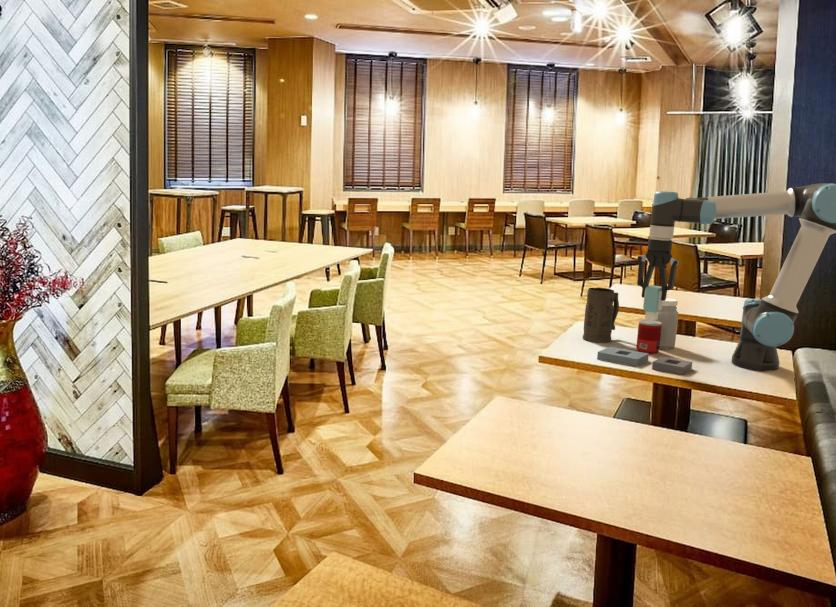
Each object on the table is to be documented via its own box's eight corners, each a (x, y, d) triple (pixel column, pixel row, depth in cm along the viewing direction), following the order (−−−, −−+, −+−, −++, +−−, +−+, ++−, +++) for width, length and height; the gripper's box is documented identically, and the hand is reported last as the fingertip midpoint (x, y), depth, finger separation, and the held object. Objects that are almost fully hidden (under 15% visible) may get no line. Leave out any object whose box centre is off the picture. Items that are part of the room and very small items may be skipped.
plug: (660, 319, 263) (663, 286, 261) (654, 321, 258) (658, 288, 256) (648, 317, 265) (652, 285, 263) (642, 319, 260) (646, 286, 258)
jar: (671, 351, 286) (676, 302, 283) (644, 346, 291) (649, 299, 288) (677, 346, 294) (682, 299, 291) (651, 342, 299) (656, 295, 296)
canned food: (661, 354, 280) (664, 324, 278) (639, 353, 280) (642, 323, 278) (655, 349, 287) (658, 320, 285) (633, 348, 287) (636, 319, 285)
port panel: (648, 360, 270) (648, 353, 269) (636, 366, 261) (637, 359, 261) (609, 353, 278) (610, 346, 277) (597, 358, 269) (597, 351, 268)
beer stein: (599, 344, 291) (606, 291, 289) (575, 338, 299) (582, 286, 297) (622, 342, 302) (629, 290, 299) (598, 336, 310) (605, 286, 307)
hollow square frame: (691, 369, 261) (692, 361, 260) (682, 374, 253) (683, 367, 252) (661, 363, 267) (662, 356, 266) (651, 369, 259) (652, 361, 258)
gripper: (690, 241, 255) (681, 311, 259) (639, 235, 264) (631, 303, 269) (683, 242, 249) (674, 314, 253) (631, 236, 258) (623, 306, 262)
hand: (652, 308), depth 261 cm, fingers closed on plug, 4 cm apart
